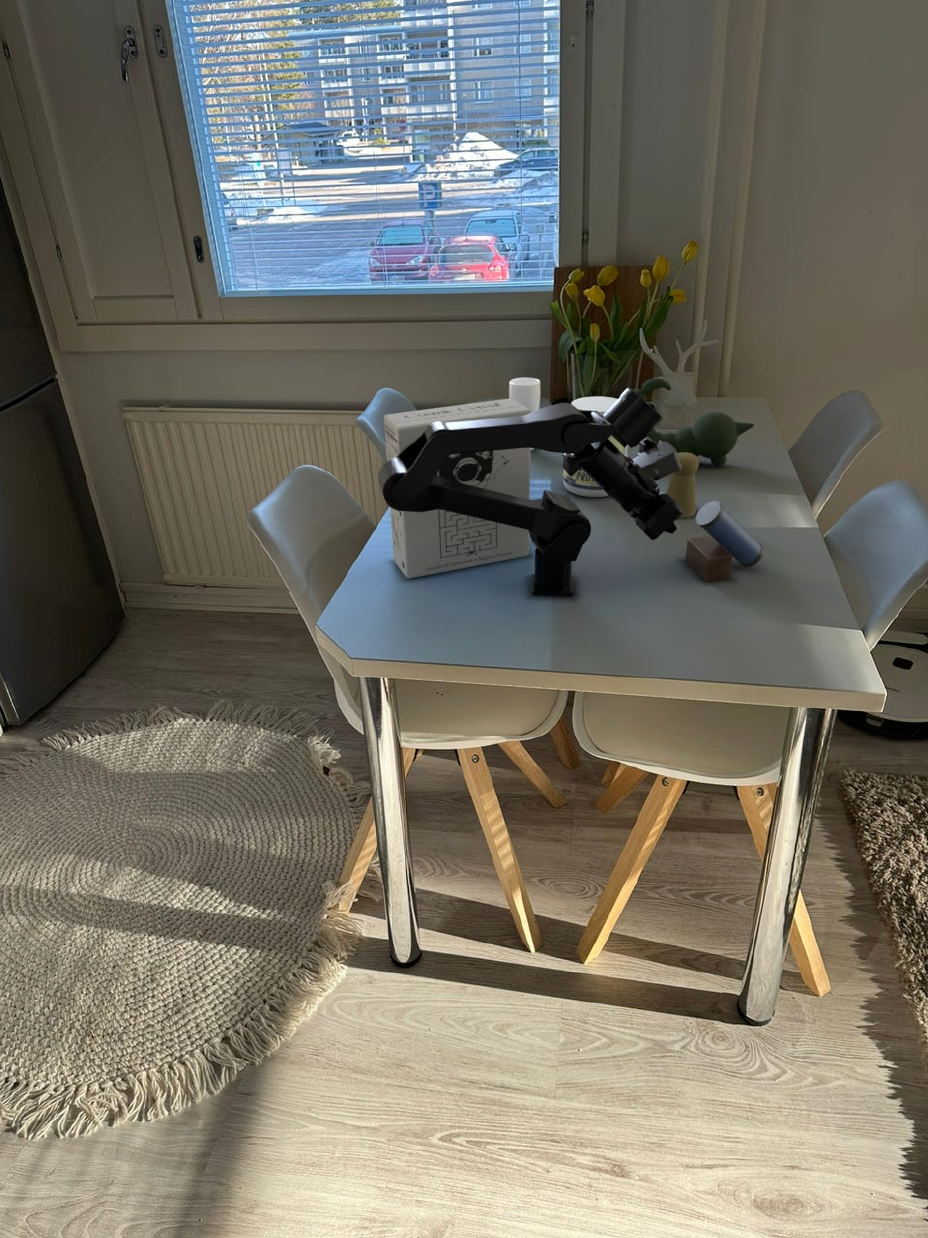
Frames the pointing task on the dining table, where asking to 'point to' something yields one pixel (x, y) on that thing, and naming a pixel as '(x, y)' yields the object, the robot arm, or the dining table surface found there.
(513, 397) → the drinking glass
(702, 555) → the walnut block
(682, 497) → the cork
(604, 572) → the dining table surface
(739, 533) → the tube
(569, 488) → the supplement tub
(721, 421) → the toy figurine
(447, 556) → the cereal box
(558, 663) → the dining table surface
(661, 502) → the robot arm
